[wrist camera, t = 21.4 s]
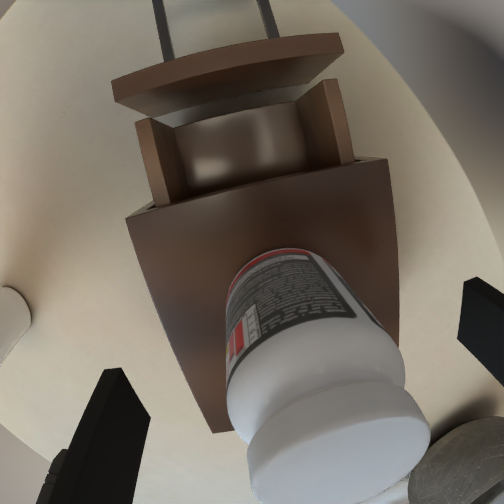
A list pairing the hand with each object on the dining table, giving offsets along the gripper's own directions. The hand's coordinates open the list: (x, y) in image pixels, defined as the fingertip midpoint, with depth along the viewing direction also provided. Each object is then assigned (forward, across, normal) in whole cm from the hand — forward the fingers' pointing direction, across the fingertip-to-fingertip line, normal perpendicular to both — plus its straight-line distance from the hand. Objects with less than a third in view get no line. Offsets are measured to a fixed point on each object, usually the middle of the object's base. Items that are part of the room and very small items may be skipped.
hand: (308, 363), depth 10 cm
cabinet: (+15, 0, -2) cm, 15 cm away
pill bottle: (+5, 0, 0) cm, 5 cm away
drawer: (+14, 0, +10) cm, 17 cm away
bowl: (+15, +23, -40) cm, 49 cm away
